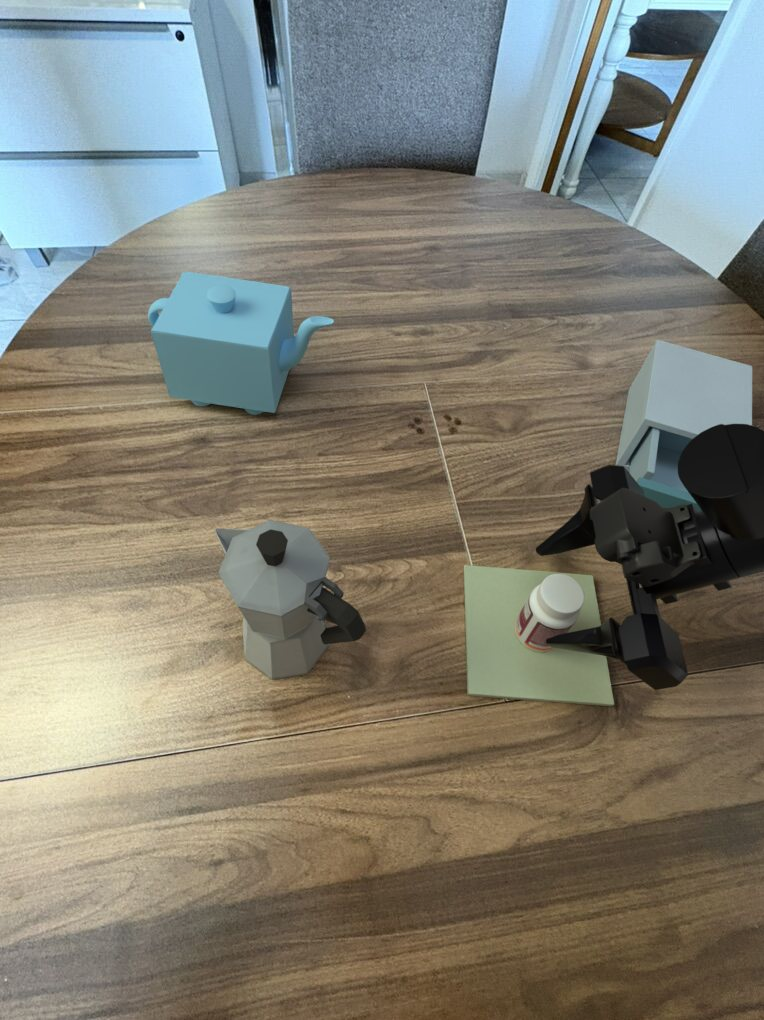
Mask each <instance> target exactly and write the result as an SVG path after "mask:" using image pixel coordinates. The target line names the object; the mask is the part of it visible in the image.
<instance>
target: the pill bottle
mask: <svg viewBox="0 0 764 1020" xmlns="http://www.w3.org/2000/svg"><path fill="white" fill-rule="evenodd" d="M584 599H585V596H584V591H583V589H582V587H581V585H580V584H579V583H578V582H577V581H576V580H575V579H573V578H572V577H570V576H567V575H564V574H553V575H550V576H548V577H546V578H545V579H544V580H543V582H542V583H541V584H540V585H538V586H537V587H535V588H534V589H533V591H532V592H531V594H530V596H529V598H528V599H527V601H526V603H525V605H524V606H523V608H522V610H521V612H520V613H519V615H518V617H517V619H516V622H515V632H516V635H517V637H518V639H519V640H520V642H521V643H522V644H523V645H524V646H525V647H527V648H529V649H531V650H533V651H537V652H546V651H550V650H552V649H554V648H553V647H550V646H549V645H547V644H546V639H548V638H550V637H553V636H556V635H559V634H564V633H567V632H568V631H569V629H570V628H571V627H572V626H573V624H574V623H575V622H576V621H577V619H578V617H579V614H580V609H581V607H582V606H583V603H584Z"/></svg>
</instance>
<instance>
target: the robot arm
mask: <svg viewBox="0 0 764 1020" xmlns="http://www.w3.org/2000/svg"><path fill="white" fill-rule="evenodd" d="M589 476H590V482H591V484H587V485H586V486H585V488H584V497H583V500H582V502H581V505H580V508H579V509H578V511H577V512H576V513H575V514H574V515H573V516H571V518H570V519H568V520H567V521H566V522H565V523H564V524H562V526H560V527H559V528H558V529H557V530H555V532H553V533H552V534H551V535H549V536H548V537H547V538H546V539H545V540H544V541H542V542H541V543H540V544H539V545H537V546H536V548H535V553H536V554H538V555H539V556H540V557H545V556H551V555H558V554H562V553H567V552H570V551H575V550H579V549H583V548H586V547H590V546H594V547H595V550H596V552H597V554H598V555H599V556H600V557H601V558H602V559H603V560H605V561H607V562H609V563H616V564H617V563H618V564H620V565H621V568H622V569H621V570H622V574H623V578H624V579H625V580H626V584H627V590H628V595H629V599H630V604H631V609H632V615H627V616H626V617H625V618H624V620H623V621H622V623H621V624H620V623H619V622H618V621H617V620H616V619H614V618H613V617H609V618H608V619H606V620H605V621H604V622H603V623H601V626H599V627H594V628H589V629H584V630H579V631H574V632H569V633H564V634H559V635H556V636H553V637H550V638H548V639H546V644H547V645H549V646H550V647H553V648H559V649H566V650H572V651H578V652H584V653H591V654H596V655H602V656H606V658H610V659H615V660H618V661H620V662H622V663H623V664H624V665H626V668H627V670H628V671H629V672H630V673H631V674H633V675H634V676H635V677H637V678H638V679H639V680H640V681H642V682H643V683H645V684H646V685H648V686H649V687H650V688H652V689H653V690H654V691H658V690H659V691H660V690H664V689H670V688H675V687H678V686H679V685H681V684H682V683H683V682H684V681H685V680H686V679H687V677H688V676H689V672H688V668H687V664H686V660H685V656H684V651H683V648H682V644H681V639H680V635H679V633H678V632H677V631H675V629H674V628H672V627H671V625H669V624H668V623H667V621H665V620H664V619H663V618H662V617H661V614H660V610H659V606H658V601H657V600H661V601H662V602H663V603H664V605H669V604H673V603H676V602H679V599H678V595H679V594H682V593H686V592H691V591H694V590H697V589H701V588H705V587H709V586H713V587H714V588H715V589H716V591H718V592H719V591H722V590H727V589H731V588H732V583H731V581H732V580H736V579H740V578H743V577H747V576H751V575H754V574H758V573H763V572H764V429H761V428H760V427H758V426H755V425H752V426H751V425H748V424H728V425H724V424H719V425H716V426H713V427H711V428H709V429H707V430H705V431H703V432H701V433H700V434H698V435H697V436H696V437H694V438H693V439H692V440H691V441H690V442H689V443H688V444H687V446H686V447H685V448H684V450H683V452H682V453H681V455H680V458H679V462H678V476H679V479H680V480H681V482H682V484H683V485H684V487H685V488H686V489H687V491H688V492H689V494H690V495H691V496H692V498H693V499H694V500H695V502H696V503H697V504H698V506H699V507H700V509H701V511H697V510H696V509H695V507H694V506H693V505H692V504H689V505H680V506H677V507H674V508H662V507H661V506H660V505H659V504H658V503H657V502H655V501H653V500H651V499H649V498H647V497H645V495H644V491H643V489H642V488H641V487H640V485H639V484H638V483H637V482H636V481H635V479H634V478H633V477H632V476H631V475H630V473H629V472H628V471H627V470H626V468H625V467H624V466H619V465H616V464H609V463H608V464H606V465H603V466H601V467H598V468H596V469H594V470H591V471H590V472H589ZM640 585H641V587H640Z"/></svg>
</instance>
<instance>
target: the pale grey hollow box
mask: <svg viewBox="0 0 764 1020" xmlns="http://www.w3.org/2000/svg"><path fill="white" fill-rule="evenodd" d="M626 397H627V398H626V403H625V408H624V414H623V419H622V426H621V432H620V438H619V444H618V448H617V454H616V460H615V465H619V466H624V467H625V468H626V470H627V471H628V472H629V471H630V464H631V458H632V453H633V451H634V450H635V448H636V447H637V445H638V444H639V442H640V440H641V439H642V437H643V436H644V434H645V432H646V431H647V429H648V428H649V426H651V427H655V428H658V429H661V430H665V431H668V432H671V433H675V434H678V435H681V436H685V437H688V438H691V439H693V438H694V437H696V436H697V435H698V434H700V433H701V432H703V431H705V430H707V429H709V428H711V427H713V426H716V425H719V424H724V425H728V424H748V425H751V426H753V366H752V365H750V364H747V363H744V362H743V363H742V362H739V361H735V360H732V359H728V358H724V357H722V356H717V355H714V354H710V353H707V352H703V351H700V350H696V349H693V348H689V347H685V346H682V345H678V344H675V343H672V342H668V341H664V340H661V339H656V340H655V342H654V343H653V346H652V347H651V349H650V351H649V353H648V355H647V356H646V359H644V362H643V364H642V366H641V367H640V369H639V371H638V373H637V374H636V376H635V378H634V380H633V381H632V383H631V384H630V386H629V389H628V392H627V396H626Z"/></svg>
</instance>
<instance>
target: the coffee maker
mask: <svg viewBox="0 0 764 1020" xmlns="http://www.w3.org/2000/svg"><path fill="white" fill-rule="evenodd" d="M214 533H215V535H216V537H217V539H218V542H219V543H220V546H221V548H222V551H223V553H224V554H225V556H224V558H223V559H222V563H221V565H220V568H219V570H218V576H219V577H220V579H221V581H222V582H223V584H224V586H225V588H226V589H227V591H228V593H229V594H230V596H231V598H232V600H233V601H234V603H235V605H236V607H237V608H238V609H239V611H240V612H241V614H242V618H243V619H242V627H241V629H242V643H243V655H244V656H243V657H244V661H245V662H247V663H248V665H249V664H250V666H252V667H254V668H255V669H256V670H258V671H259V672H260V673H261V674H263V675H264V676H265V677H267V678H268V679H270V680H271V681H274V680H281V679H285V678H292V677H298V676H304V675H308V674H309V673H310V672H311V670H312V669H313V668H314V666H315V665H316V664H317V663H318V661H319V660H320V659H321V658H322V657H323V655H324V654H325V652H326V651H327V650H328V648H329V645H333V644H342V643H353V642H356V641H359V640H361V639H362V638H363V636H364V634H366V632H367V626H366V624H365V622H364V620H363V618H362V616H361V614H360V613H359V611H358V610H357V608H355V606H353V605H352V604H351V603H349V602H348V601H346V600H345V599H343V597H344V593H345V592H344V591H343V590H342V589H341V588H340V587H339V585H337V584H336V583H335V582H334V581H332V580H331V579H329V578H328V577H327V572H328V570H329V569H328V568H329V566H330V561H331V557H330V556H329V554H328V552H327V551H326V550H325V548H324V547H323V545H322V544H321V542H320V541H319V540H318V539H317V537H316V535H315V534H314V533H313V531H312V530H311V528H310V527H307V526H301V525H297V524H293V523H287V522H284V521H279V520H273V519H267V521H264V522H262V523H260V524H258V525H256V526H254V527H252V528H247V529H246V528H224V527H223V528H221V527H217V528H215V529H214ZM326 621H327V622H329V623H332V624H333V625H334V626H328V627H326Z"/></svg>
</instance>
